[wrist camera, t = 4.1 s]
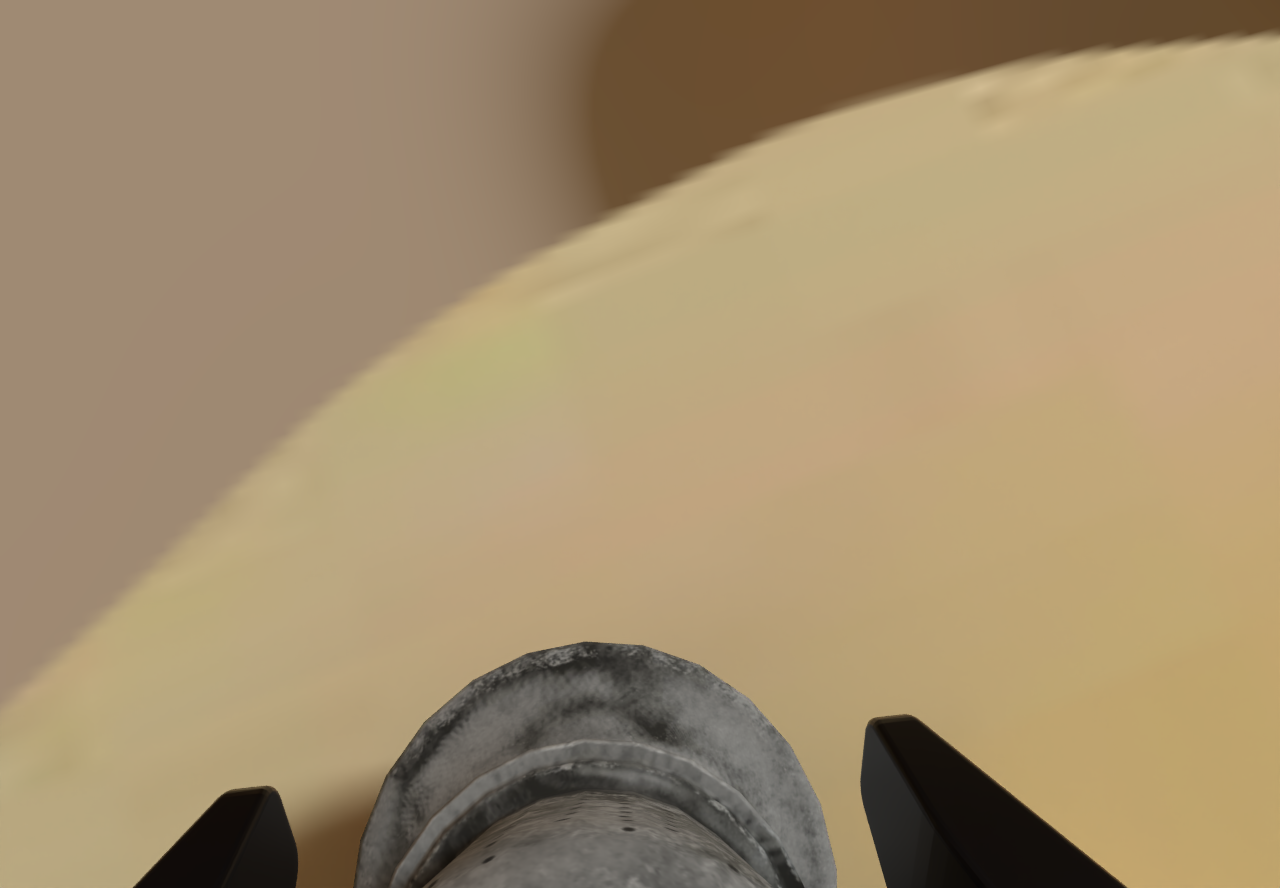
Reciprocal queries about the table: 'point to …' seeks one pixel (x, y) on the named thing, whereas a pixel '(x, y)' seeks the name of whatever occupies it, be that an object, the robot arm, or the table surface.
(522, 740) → the dark grey tall piece
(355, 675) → the table surface
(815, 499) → the table surface
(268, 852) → the robot arm
